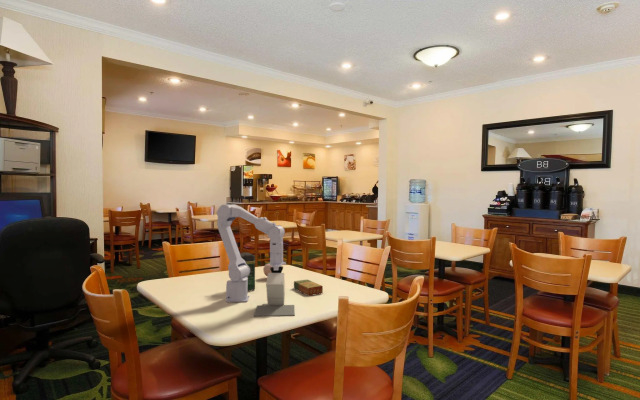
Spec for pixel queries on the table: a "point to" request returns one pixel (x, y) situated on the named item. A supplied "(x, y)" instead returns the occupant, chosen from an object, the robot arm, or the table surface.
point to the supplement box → (275, 288)
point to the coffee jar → (251, 263)
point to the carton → (308, 287)
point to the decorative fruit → (267, 268)
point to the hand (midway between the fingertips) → (276, 283)
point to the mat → (274, 310)
